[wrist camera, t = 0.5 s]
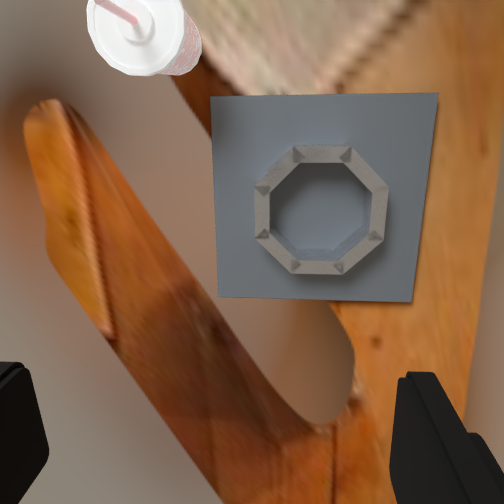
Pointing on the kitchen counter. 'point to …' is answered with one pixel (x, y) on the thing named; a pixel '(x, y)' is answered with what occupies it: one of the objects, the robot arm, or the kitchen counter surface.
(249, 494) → the kitchen counter surface
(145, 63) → the beverage cup
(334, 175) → the plate
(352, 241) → the steel collar
